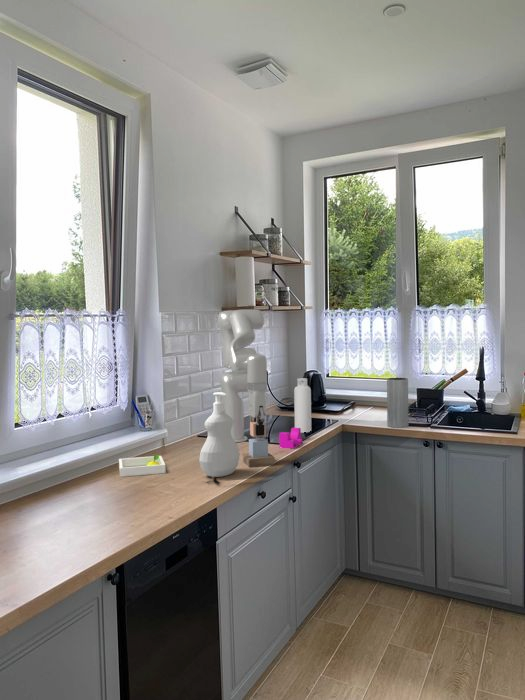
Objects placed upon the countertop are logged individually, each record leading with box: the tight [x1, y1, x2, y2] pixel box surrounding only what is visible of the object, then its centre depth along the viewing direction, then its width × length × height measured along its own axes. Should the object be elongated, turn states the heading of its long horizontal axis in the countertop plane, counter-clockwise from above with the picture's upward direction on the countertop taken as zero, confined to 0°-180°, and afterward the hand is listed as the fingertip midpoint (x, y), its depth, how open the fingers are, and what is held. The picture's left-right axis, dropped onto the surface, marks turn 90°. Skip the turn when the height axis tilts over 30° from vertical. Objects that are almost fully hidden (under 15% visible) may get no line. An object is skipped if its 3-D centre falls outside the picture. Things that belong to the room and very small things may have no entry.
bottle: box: [293, 377, 312, 434], centre depth 268 cm, size 8×8×28 cm
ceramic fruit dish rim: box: [118, 455, 166, 478], centre depth 208 cm, size 16×16×3 cm
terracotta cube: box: [249, 421, 267, 438], centre depth 215 cm, size 5×5×5 cm
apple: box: [146, 454, 160, 466], centre depth 212 cm, size 7×6×9 cm
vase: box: [386, 377, 410, 429], centre depth 270 cm, size 10×10×27 cm
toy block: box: [278, 427, 303, 450], centre depth 244 cm, size 15×6×8 cm, turn 154°
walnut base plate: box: [242, 452, 276, 468], centre depth 215 cm, size 10×10×3 cm
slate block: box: [248, 437, 269, 458], centre depth 215 cm, size 6×6×6 cm
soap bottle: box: [198, 391, 241, 478], centre depth 199 cm, size 17×12×29 cm
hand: (258, 433), depth 215 cm, fingers closed on terracotta cube, 4 cm apart
